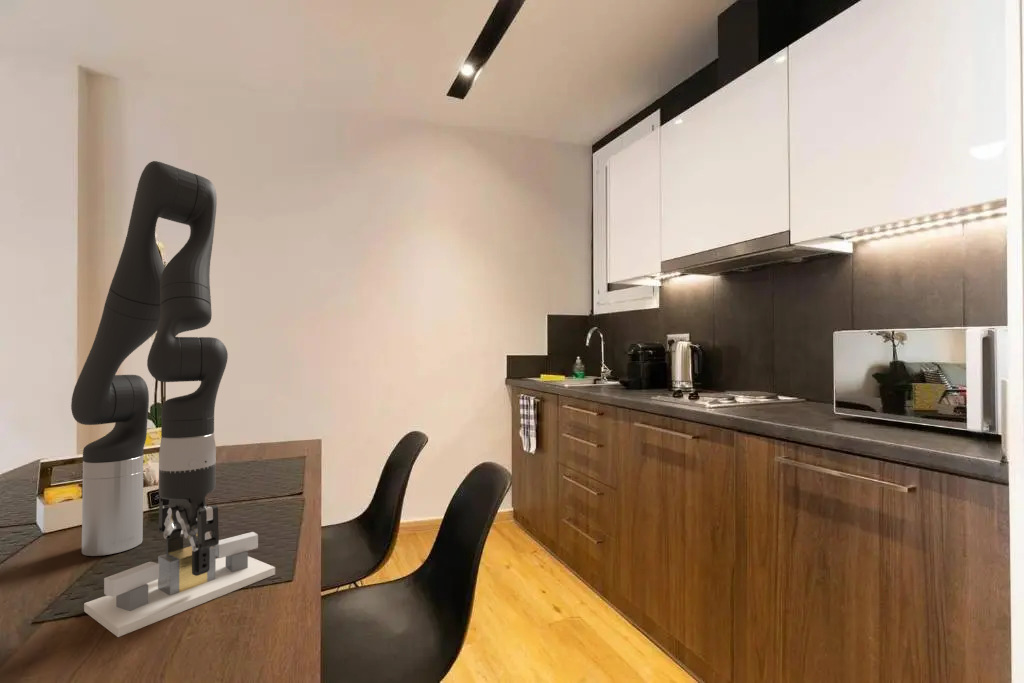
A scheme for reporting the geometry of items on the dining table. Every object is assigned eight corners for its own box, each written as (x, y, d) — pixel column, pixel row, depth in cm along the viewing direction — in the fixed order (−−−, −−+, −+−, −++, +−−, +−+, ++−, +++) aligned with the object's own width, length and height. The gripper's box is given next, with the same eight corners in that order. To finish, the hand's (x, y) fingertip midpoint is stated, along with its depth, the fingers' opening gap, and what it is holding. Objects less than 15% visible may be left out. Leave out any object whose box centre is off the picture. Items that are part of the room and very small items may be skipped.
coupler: (157, 588, 77) (158, 556, 77) (202, 572, 82) (203, 542, 82) (170, 595, 75) (170, 562, 75) (215, 578, 80) (215, 547, 80)
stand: (84, 611, 72) (84, 569, 73) (237, 558, 91) (237, 524, 91) (117, 637, 66) (118, 590, 66) (275, 574, 84) (275, 538, 84)
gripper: (236, 464, 78) (235, 569, 78) (191, 454, 86) (191, 549, 85) (183, 474, 72) (182, 588, 71) (140, 462, 79) (139, 565, 79)
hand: (187, 567), depth 78 cm, fingers open, 8 cm apart
